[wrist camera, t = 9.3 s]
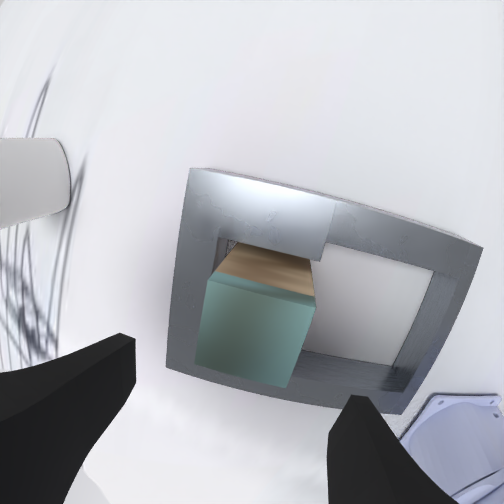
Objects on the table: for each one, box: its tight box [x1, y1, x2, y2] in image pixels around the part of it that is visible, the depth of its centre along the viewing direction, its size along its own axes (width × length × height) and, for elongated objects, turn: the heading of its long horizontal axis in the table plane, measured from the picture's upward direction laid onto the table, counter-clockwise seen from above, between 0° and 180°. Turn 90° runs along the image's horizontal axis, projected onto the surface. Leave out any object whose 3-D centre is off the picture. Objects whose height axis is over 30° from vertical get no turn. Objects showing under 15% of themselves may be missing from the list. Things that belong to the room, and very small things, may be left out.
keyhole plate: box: [166, 168, 483, 415], centre depth 16 cm, size 16×12×3 cm
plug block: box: [194, 242, 316, 388], centre depth 14 cm, size 4×4×7 cm
